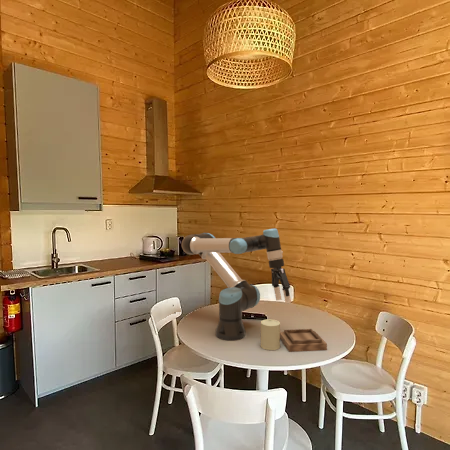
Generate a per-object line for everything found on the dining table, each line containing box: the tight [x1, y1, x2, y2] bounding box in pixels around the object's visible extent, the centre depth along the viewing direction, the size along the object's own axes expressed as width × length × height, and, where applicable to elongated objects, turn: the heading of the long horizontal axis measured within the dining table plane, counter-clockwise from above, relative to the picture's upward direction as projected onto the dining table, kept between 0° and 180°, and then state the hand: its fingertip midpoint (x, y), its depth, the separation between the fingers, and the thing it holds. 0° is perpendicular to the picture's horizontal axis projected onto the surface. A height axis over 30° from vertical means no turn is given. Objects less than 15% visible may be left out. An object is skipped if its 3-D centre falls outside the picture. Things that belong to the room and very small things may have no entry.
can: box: [260, 318, 281, 351], centre depth 164 cm, size 9×9×12 cm
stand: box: [280, 328, 328, 353], centre depth 167 cm, size 18×16×4 cm
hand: (283, 301), depth 172 cm, fingers open, 13 cm apart
